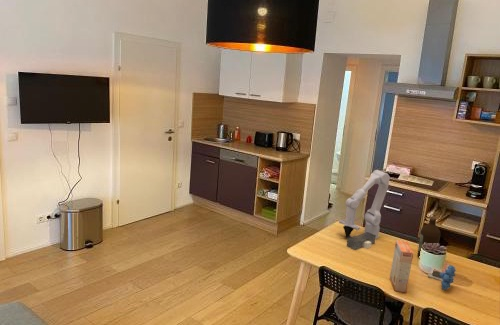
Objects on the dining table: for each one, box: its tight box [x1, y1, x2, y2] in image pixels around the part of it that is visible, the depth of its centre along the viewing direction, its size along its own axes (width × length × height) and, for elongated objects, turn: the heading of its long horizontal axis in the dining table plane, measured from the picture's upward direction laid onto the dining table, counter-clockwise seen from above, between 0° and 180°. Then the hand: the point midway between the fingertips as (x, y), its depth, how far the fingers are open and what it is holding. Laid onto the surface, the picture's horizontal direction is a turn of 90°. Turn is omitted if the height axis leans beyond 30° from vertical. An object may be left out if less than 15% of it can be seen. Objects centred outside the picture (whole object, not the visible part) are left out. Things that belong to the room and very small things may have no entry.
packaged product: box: [427, 261, 451, 283], centre depth 204 cm, size 18×5×10 cm
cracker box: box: [389, 239, 414, 293], centre depth 187 cm, size 14×6×21 cm, turn 168°
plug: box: [346, 235, 372, 249], centre depth 236 cm, size 4×15×3 cm, turn 40°
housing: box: [346, 232, 377, 251], centre depth 234 cm, size 20×6×5 cm, turn 128°
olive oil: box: [417, 216, 442, 259], centre depth 220 cm, size 11×11×25 cm
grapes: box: [440, 264, 457, 291], centre depth 189 cm, size 12×7×12 cm, turn 134°
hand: (347, 237), depth 242 cm, fingers closed
